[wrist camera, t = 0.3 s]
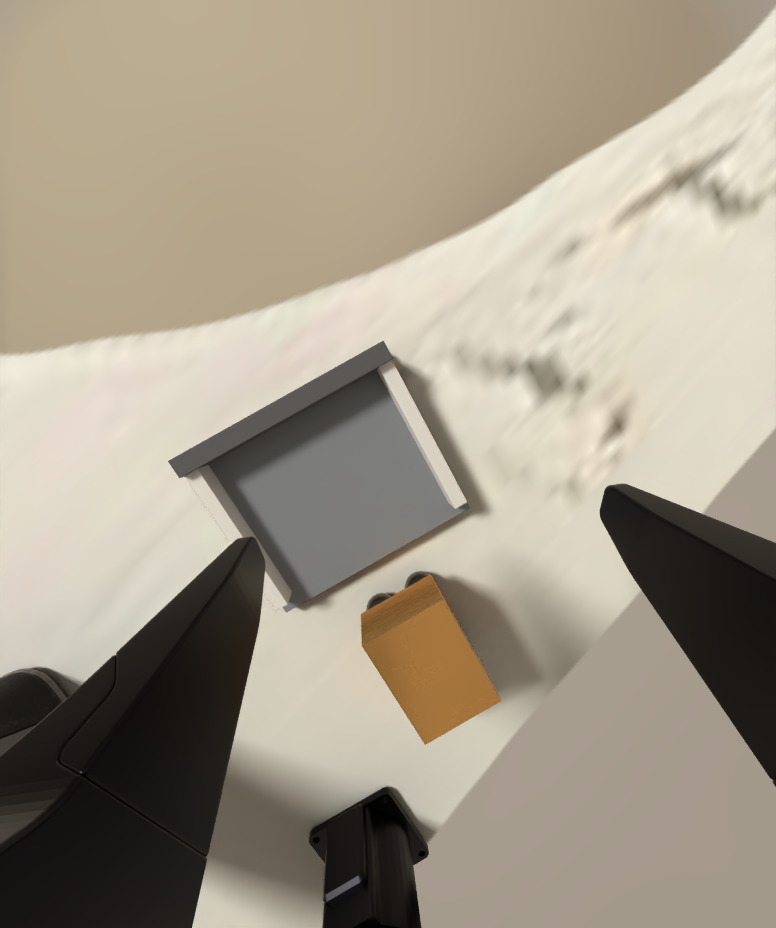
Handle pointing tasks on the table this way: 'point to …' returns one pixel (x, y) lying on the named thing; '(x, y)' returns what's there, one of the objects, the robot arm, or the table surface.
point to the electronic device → (25, 703)
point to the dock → (326, 478)
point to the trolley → (425, 657)
